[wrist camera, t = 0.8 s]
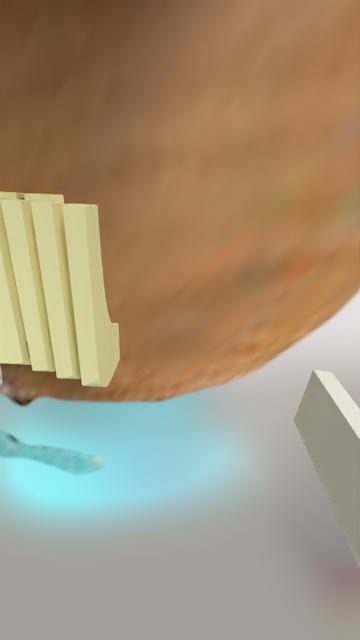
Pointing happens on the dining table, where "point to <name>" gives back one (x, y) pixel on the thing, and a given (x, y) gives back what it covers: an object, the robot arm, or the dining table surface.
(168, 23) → the dining table surface
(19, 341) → the slatted curved stool
